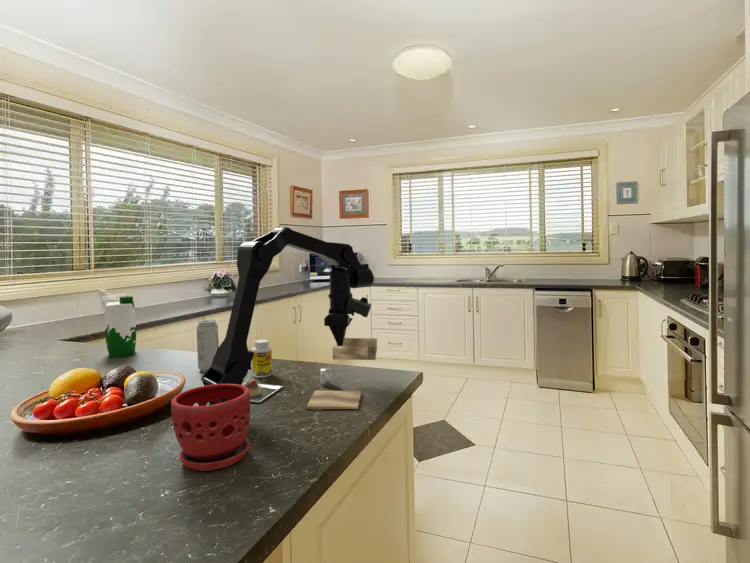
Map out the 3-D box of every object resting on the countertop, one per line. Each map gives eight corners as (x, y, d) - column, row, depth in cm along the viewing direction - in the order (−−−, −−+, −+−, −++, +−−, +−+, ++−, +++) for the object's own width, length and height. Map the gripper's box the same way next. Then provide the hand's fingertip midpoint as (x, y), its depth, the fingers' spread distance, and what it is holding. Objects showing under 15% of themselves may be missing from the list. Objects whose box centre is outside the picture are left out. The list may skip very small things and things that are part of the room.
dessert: (283, 390, 114) (283, 372, 114) (260, 406, 103) (259, 387, 103) (244, 386, 118) (243, 369, 117) (216, 401, 106) (216, 382, 106)
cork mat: (357, 409, 99) (357, 407, 99) (306, 409, 100) (306, 406, 100) (361, 393, 110) (361, 391, 110) (314, 392, 110) (314, 390, 110)
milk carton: (136, 355, 148) (133, 298, 146) (105, 358, 144) (101, 299, 142) (138, 350, 156) (135, 295, 154) (108, 352, 152) (105, 296, 150)
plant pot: (259, 440, 84) (257, 380, 83) (240, 476, 71) (238, 406, 70) (191, 441, 84) (188, 381, 82) (160, 478, 70) (156, 407, 69)
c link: (376, 348, 120) (376, 338, 120) (375, 359, 110) (375, 348, 110) (337, 348, 121) (337, 338, 120) (332, 359, 111) (332, 348, 110)
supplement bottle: (255, 379, 121) (255, 344, 120) (249, 374, 126) (248, 340, 125) (274, 376, 124) (274, 341, 124) (268, 371, 129) (267, 338, 128)
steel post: (330, 387, 115) (330, 370, 114) (319, 387, 115) (319, 370, 115) (332, 383, 118) (332, 367, 117) (321, 383, 118) (321, 367, 118)
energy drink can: (219, 371, 129) (218, 322, 128) (198, 373, 127) (196, 323, 126) (219, 366, 135) (217, 318, 134) (198, 368, 133) (196, 320, 131)
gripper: (367, 293, 108) (367, 354, 110) (371, 286, 127) (371, 338, 128) (323, 293, 109) (324, 354, 110) (333, 286, 127) (334, 338, 129)
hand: (340, 345), depth 119 cm, fingers closed on c link, 2 cm apart
